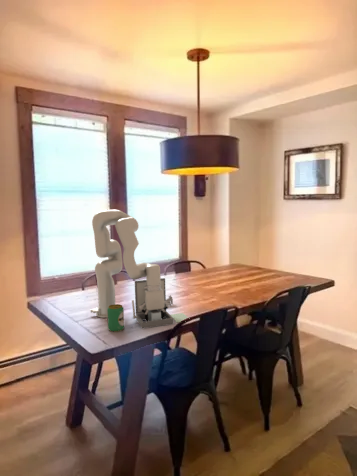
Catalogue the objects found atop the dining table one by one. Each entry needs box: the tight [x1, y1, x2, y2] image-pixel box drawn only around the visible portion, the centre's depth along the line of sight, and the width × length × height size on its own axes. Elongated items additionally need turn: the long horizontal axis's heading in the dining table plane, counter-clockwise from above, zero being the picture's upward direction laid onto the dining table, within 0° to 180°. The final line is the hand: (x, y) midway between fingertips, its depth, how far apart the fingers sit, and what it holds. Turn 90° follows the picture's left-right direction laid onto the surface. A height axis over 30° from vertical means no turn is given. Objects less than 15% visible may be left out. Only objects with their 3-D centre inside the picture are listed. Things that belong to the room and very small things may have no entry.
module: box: [148, 309, 161, 321], centre depth 192 cm, size 5×8×6 cm, turn 19°
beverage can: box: [107, 303, 125, 333], centre depth 182 cm, size 8×8×12 cm
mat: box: [170, 312, 189, 324], centre depth 198 cm, size 8×13×1 cm, turn 19°
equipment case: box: [131, 277, 175, 329], centre depth 192 cm, size 19×15×22 cm
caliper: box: [166, 294, 174, 306], centre depth 217 cm, size 20×1×6 cm, turn 139°
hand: (154, 319), depth 192 cm, fingers open, 7 cm apart
